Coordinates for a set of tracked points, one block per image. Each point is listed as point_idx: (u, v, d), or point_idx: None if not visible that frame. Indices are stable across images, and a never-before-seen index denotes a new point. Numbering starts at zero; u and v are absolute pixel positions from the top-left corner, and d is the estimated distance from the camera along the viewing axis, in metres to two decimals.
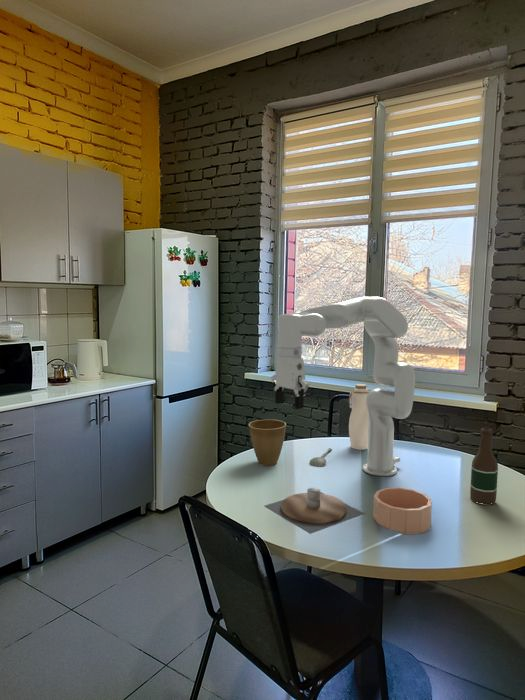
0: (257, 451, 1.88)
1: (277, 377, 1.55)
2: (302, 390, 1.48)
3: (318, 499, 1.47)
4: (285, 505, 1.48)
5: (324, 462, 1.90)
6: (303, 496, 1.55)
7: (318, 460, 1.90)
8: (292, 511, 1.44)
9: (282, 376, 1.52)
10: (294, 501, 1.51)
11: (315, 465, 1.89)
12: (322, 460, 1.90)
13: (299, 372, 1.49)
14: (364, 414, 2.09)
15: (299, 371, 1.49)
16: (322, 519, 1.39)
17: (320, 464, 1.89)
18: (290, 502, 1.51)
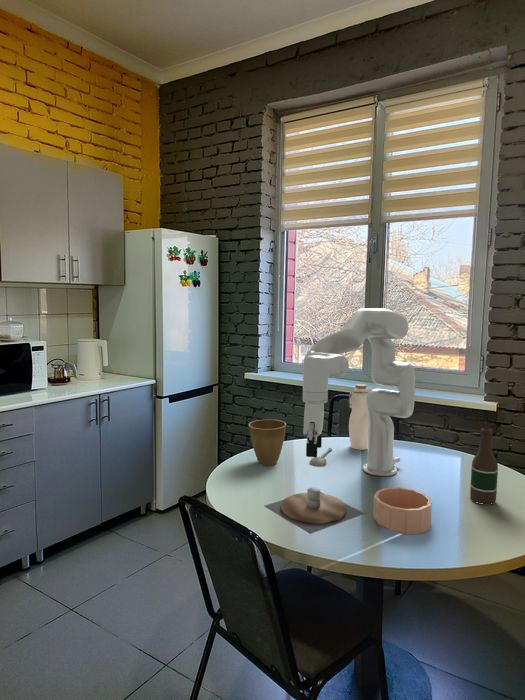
0: (257, 451, 1.88)
1: (320, 426, 1.42)
2: None
3: (318, 499, 1.47)
4: (285, 505, 1.48)
5: (324, 462, 1.90)
6: (303, 496, 1.55)
7: (318, 460, 1.90)
8: (293, 511, 1.44)
9: (322, 421, 1.44)
10: (294, 501, 1.51)
11: (315, 465, 1.89)
12: (322, 460, 1.91)
13: None
14: (364, 414, 2.09)
15: None
16: (322, 519, 1.39)
17: (320, 464, 1.89)
18: (290, 502, 1.51)
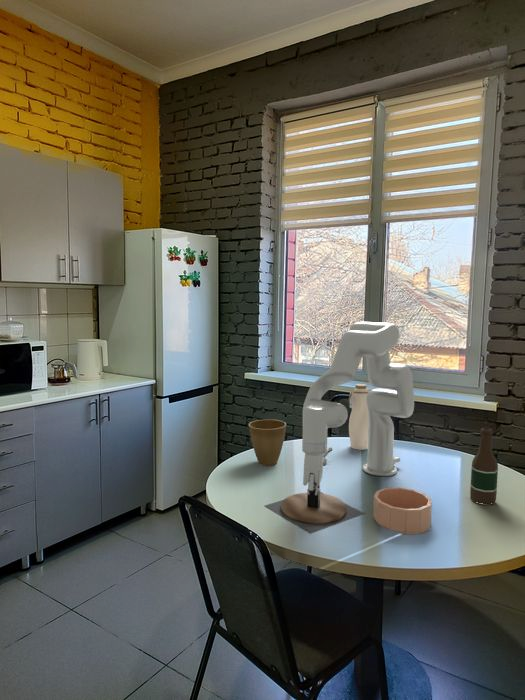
0: (257, 451, 1.88)
1: (320, 476, 1.43)
2: None
3: (318, 499, 1.47)
4: (285, 505, 1.48)
5: (325, 461, 1.91)
6: (303, 496, 1.55)
7: None
8: (293, 511, 1.44)
9: (321, 471, 1.46)
10: (294, 501, 1.51)
11: None
12: (323, 459, 1.91)
13: None
14: (364, 414, 2.09)
15: None
16: (322, 519, 1.39)
17: None
18: (290, 502, 1.51)
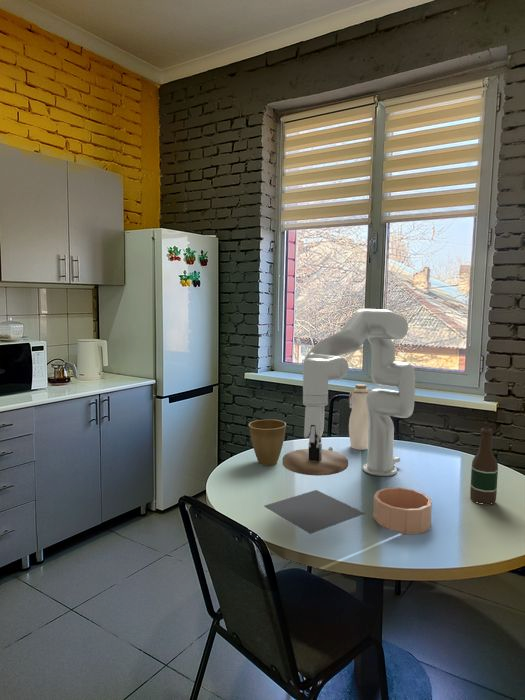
0: (257, 451, 1.88)
1: (321, 428, 1.42)
2: None
3: None
4: (286, 459, 1.47)
5: None
6: (304, 451, 1.54)
7: None
8: (294, 464, 1.43)
9: (323, 424, 1.45)
10: (295, 456, 1.50)
11: None
12: None
13: None
14: (364, 414, 2.09)
15: None
16: (324, 470, 1.38)
17: None
18: (292, 456, 1.50)
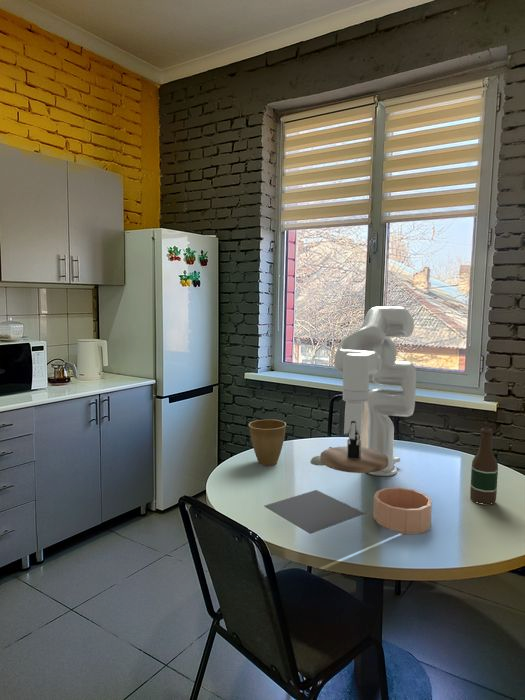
0: (257, 451, 1.88)
1: (361, 425, 1.39)
2: None
3: (359, 449, 1.42)
4: (324, 456, 1.44)
5: None
6: (341, 449, 1.51)
7: (319, 459, 1.92)
8: (333, 461, 1.40)
9: (363, 420, 1.41)
10: (333, 453, 1.47)
11: (316, 464, 1.90)
12: None
13: None
14: (364, 414, 2.09)
15: None
16: (364, 467, 1.35)
17: (321, 463, 1.90)
18: (329, 454, 1.46)
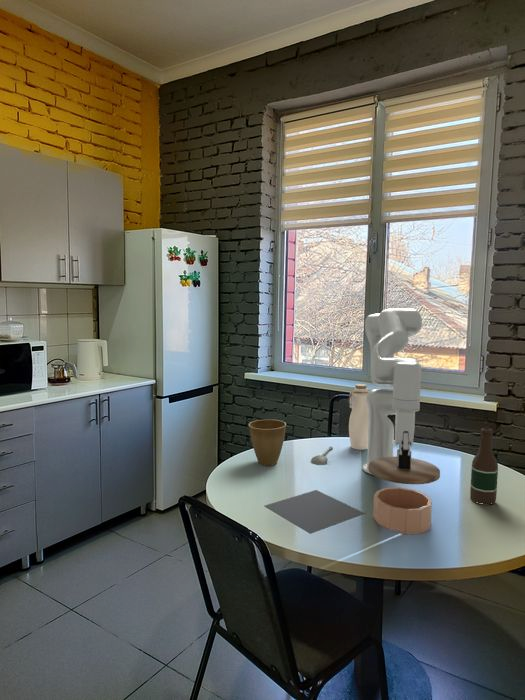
0: (257, 451, 1.88)
1: (413, 435, 1.36)
2: None
3: None
4: (373, 467, 1.41)
5: (325, 460, 1.92)
6: (388, 459, 1.47)
7: (319, 458, 1.92)
8: (384, 472, 1.36)
9: None
10: (381, 463, 1.43)
11: (317, 463, 1.91)
12: (323, 458, 1.93)
13: None
14: (364, 414, 2.09)
15: None
16: (419, 479, 1.31)
17: (321, 462, 1.91)
18: (378, 464, 1.43)
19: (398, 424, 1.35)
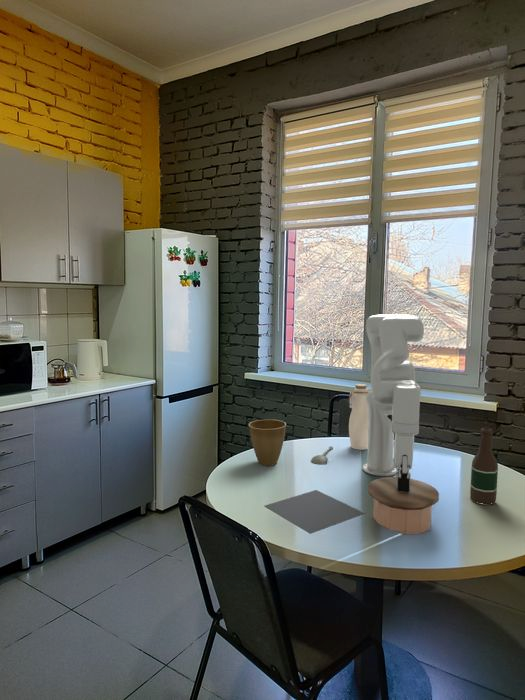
0: (257, 451, 1.88)
1: (412, 458, 1.36)
2: None
3: None
4: (373, 489, 1.41)
5: (326, 460, 1.92)
6: (387, 480, 1.48)
7: (320, 458, 1.93)
8: (383, 495, 1.37)
9: None
10: (380, 485, 1.44)
11: (317, 463, 1.91)
12: (324, 458, 1.93)
13: None
14: (364, 414, 2.09)
15: None
16: (418, 503, 1.32)
17: (322, 462, 1.91)
18: (377, 486, 1.44)
19: (397, 448, 1.36)
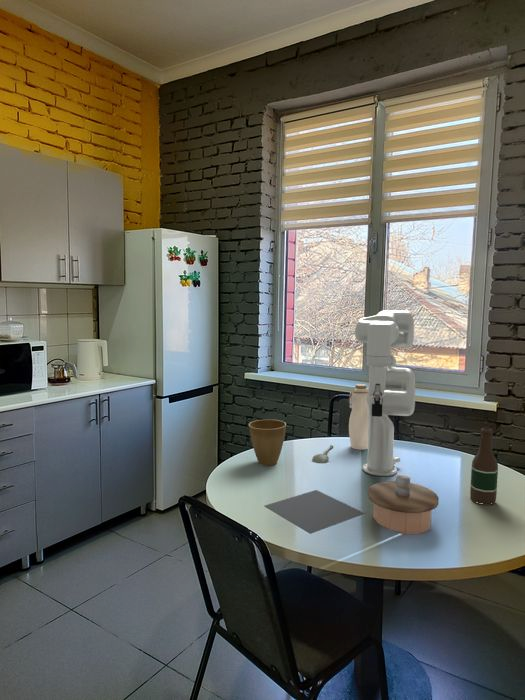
0: (257, 451, 1.88)
1: (384, 387, 1.53)
2: None
3: (408, 487, 1.40)
4: (372, 493, 1.42)
5: (327, 459, 1.94)
6: (387, 484, 1.49)
7: (321, 457, 1.94)
8: (383, 499, 1.37)
9: None
10: (380, 489, 1.45)
11: (318, 462, 1.93)
12: (325, 457, 1.94)
13: None
14: (364, 414, 2.09)
15: None
16: (418, 507, 1.32)
17: (323, 461, 1.93)
18: (377, 490, 1.44)
19: (371, 377, 1.52)
